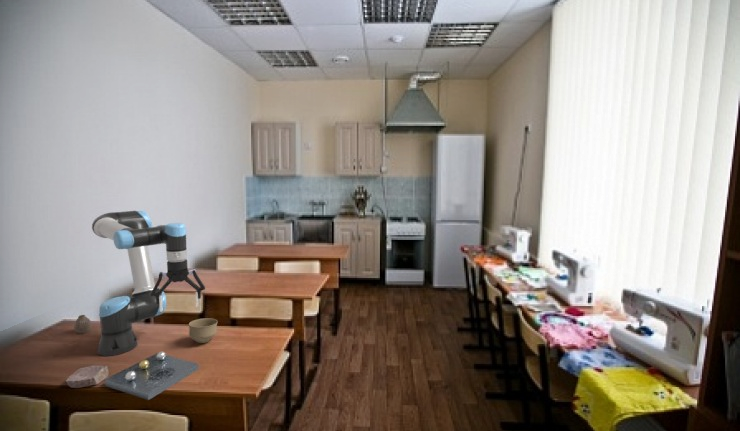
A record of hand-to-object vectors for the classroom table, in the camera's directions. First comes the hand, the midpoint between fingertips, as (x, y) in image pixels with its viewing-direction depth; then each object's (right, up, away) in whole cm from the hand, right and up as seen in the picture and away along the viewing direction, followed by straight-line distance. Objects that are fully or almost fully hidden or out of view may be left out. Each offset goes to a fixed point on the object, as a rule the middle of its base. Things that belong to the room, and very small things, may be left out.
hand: (179, 308), depth 151 cm
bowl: (+1, -22, +21) cm, 30 cm away
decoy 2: (-10, -21, -17) cm, 29 cm away
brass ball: (-10, -21, -9) cm, 24 cm away
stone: (-29, -26, -13) cm, 41 cm away
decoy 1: (-7, -20, -2) cm, 21 cm away
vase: (-67, -21, +32) cm, 77 cm away
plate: (-5, -25, -10) cm, 27 cm away
